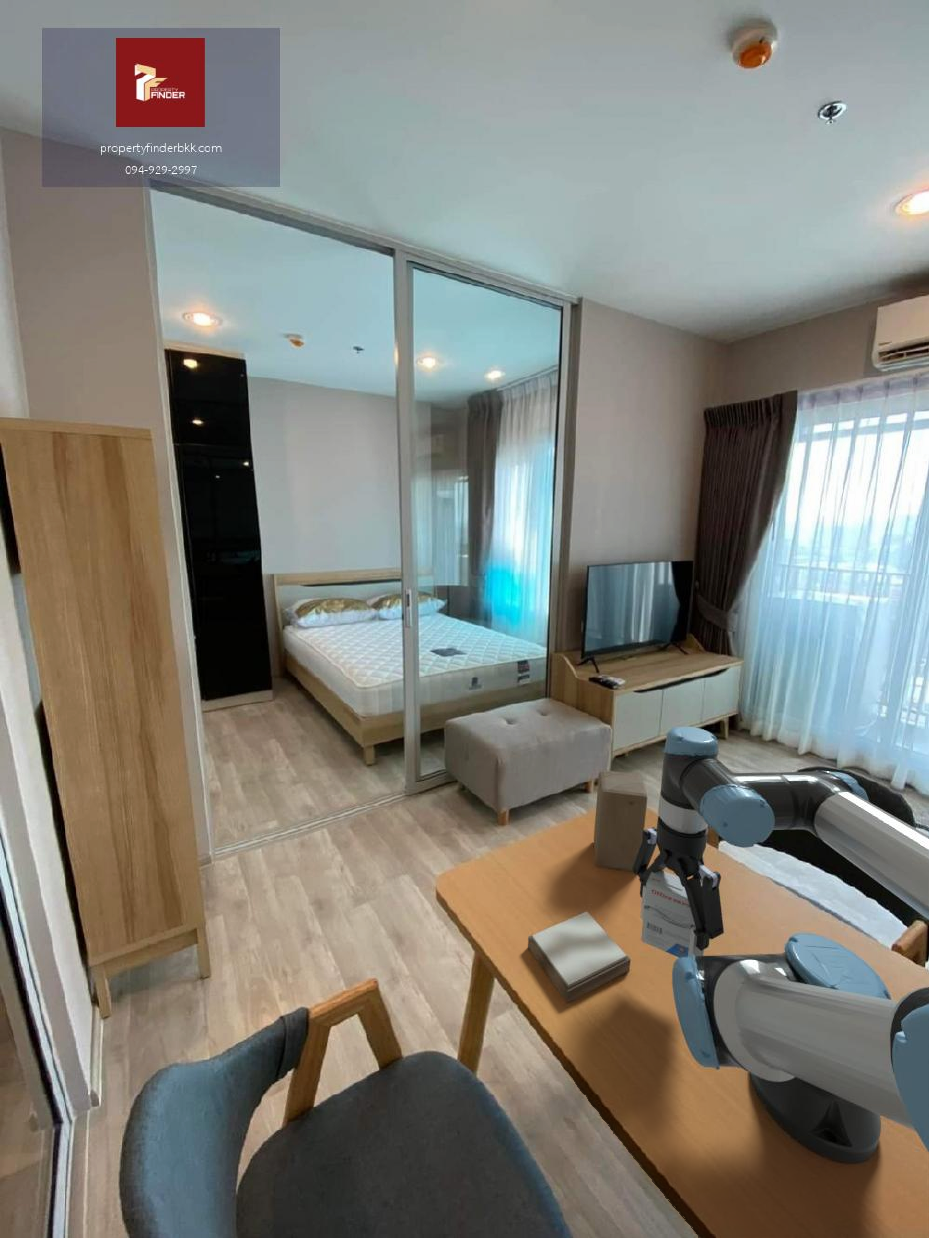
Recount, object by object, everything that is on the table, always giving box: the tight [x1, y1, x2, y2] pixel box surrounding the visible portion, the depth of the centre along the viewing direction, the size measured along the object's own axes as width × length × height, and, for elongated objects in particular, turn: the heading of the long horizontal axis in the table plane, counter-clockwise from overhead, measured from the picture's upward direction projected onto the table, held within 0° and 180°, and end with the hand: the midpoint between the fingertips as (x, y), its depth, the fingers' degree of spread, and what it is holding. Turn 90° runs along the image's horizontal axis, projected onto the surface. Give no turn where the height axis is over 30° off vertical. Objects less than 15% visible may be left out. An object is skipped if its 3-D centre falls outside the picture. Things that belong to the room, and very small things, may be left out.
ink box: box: [640, 870, 702, 958], centre depth 84 cm, size 8×5×12 cm, turn 57°
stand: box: [527, 910, 632, 1004], centre depth 91 cm, size 12×14×3 cm
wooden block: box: [593, 770, 648, 872], centre depth 116 cm, size 10×10×20 cm
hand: (669, 937), depth 85 cm, fingers closed on ink box, 9 cm apart
